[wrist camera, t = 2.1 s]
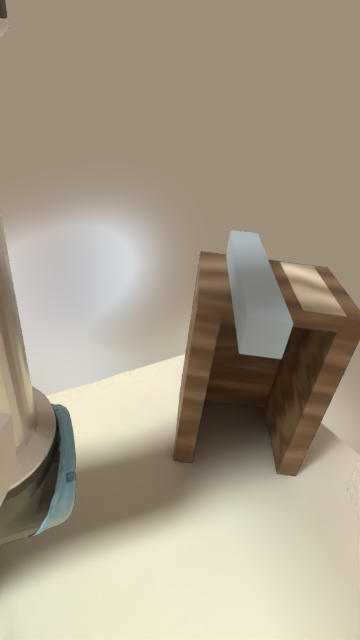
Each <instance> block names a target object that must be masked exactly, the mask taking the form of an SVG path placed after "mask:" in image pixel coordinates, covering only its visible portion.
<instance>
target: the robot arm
mask: <svg viewBox="0 0 360 640" xmlns="http://www.w3.org/2000/svg"><path fill="white" fill-rule="evenodd" d="M7 29H8V18H7V11H6V3H5V0H0V37H1V36H2V35H3V34H4V33H5V31H6V30H7ZM75 468H76V454H75V442H74V434H73V427H72V422H71V418H70V414H69V412H68V410H67V408H66V407H64V406H62V405H59V404H57V405H54V404H50V402H49V400H48V399H47V397H46V396H45V395H44V394H43V393H41V392H40V391H39V390H37V389H36V388H34V387H32V386H31V381H30V375H29V370H28V364H27V359H26V353H25V347H24V342H23V336H22V330H21V325H20V319H19V313H18V308H17V302H16V297H15V292H14V286H13V280H12V275H11V269H10V263H9V258H8V252H7V246H6V241H5V235H4V230H3V224H2V218H1V213H0V544H3V543H6V542H10V541H13V540H16V539H19V538H22V537H26V536H29V537H33V536H36V535H37V534H40V533H41V532H43V530H46V529H48V528H51V527H54V526H57V525H59V524H61V523H63V522H64V521H65V520H66V519H67V518H68V517H69V516H70V514H71V512H72V510H73V507H74V503H75V495H76V475H75ZM348 492H349V493H350V495H351V497H352V499H353V500H354V502H355V504H356V506H357V507H358V509H359V511H360V461H359V463H358V466H357V468H356V471H355V473H354V475H353V478H352V480H351V482H350V485H349V487H348Z"/></svg>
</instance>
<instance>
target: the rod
mask: <svg viewBox="0 0 360 640" xmlns="http://www.w3.org/2000/svg"><path fill="white" fill-rule="evenodd" d="M226 258H227V266H228V273H229V281H230V289H231V296H232V304H233V311H234V319H235V327H236V334H237V342H238V349H239V354H245V355H253V356H261V357H268V358H276V359H282V356H283V353H284V350H285V347H286V345H287V342H288V339H289V336H290V333H291V330H292V327H293V324H294V323H293V320H292V318H291V316H290V313H289V311H288V308H287V306H286V303H285V301H284V298H283V296H282V293H281V291H280V288H279V286H278V283H277V281H276V278H275V276H274V273H273V271H272V268H271V266H270V263H269V261H268V258H267V256H266V253H265V251H264V248H263V246H262V243H261V241H260V239H259V236H258V234H256V233H248V232H241V231H233V230H231V233H230V238H229V243H228V248H227V254H226Z"/></svg>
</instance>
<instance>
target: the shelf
mask: <svg viewBox="0 0 360 640" xmlns="http://www.w3.org/2000/svg"><path fill="white" fill-rule="evenodd" d="M268 261H269V263H270V266H271V268H272V271H273V273H274V276H275V278H276V281H277V283H278V286H279V288H280V291H281V293H282V296H283V298H284V301H285V303H286V306H287V308H288V311H289V313H290V316H291V318H292V320H293V323H294V324H293V327H292V330H291V333H290V336H289V339H288V342H287V345H286V347H285V350H284V353H283V356H282V359H276V358H268V357H261V356H253V355H245V354H239V349H238V342H237V334H236V327H235V319H234V311H233V304H232V296H231V289H230V281H229V273H228V266H227V258H226V254H219V253H211V252H202V251H201V252H200V259H199V265H198V272H197V279H196V286H195V292H194V299H193V306H192V313H191V320H190V326H189V333H188V340H187V347H186V354H185V361H184V367H183V374H182V381H181V388H180V396H179V407H178V418H177V428H176V439H175V450H174V461H179V462H187V463H192V459H193V454H194V450H195V445H196V440H197V435H198V430H199V425H200V420H201V415H202V410H203V405H204V400H206V401H214V402H222V403H230V404H238V405H246V406H254V407H262V408H265V414H266V419H267V424H268V429H269V434H270V440H271V445H272V450H273V455H274V461H275V466H276V471H277V474H282V475H290V476H296V474H297V472H298V469H299V467H300V465H301V463H302V461H303V459H304V457H305V455H306V453H307V450H308V448H309V446H310V444H311V442H312V440H313V438H314V436H315V433H316V431H317V429H318V427H319V425H320V423H321V421H322V419H323V417H324V414H325V412H326V410H327V408H328V406H329V404H330V402H331V400H332V397H333V395H334V393H335V391H336V389H337V387H338V385H339V383H340V381H341V378H342V376H343V374H344V372H345V370H346V368H347V366H348V363H349V362H350V359H351V357H352V355H353V353H354V351H355V349H356V347H357V345H358V342H359V340H360V310H359V308H358V307H357V306H356V304H355V303H354V302H353V301H352V299H351V298H350V297H349V295H348V294H347V292H346V291H345V290H344V288H343V287H342V286H341V284H340V283H339V282H338V280H337V279H336V278H335V276H334V275H333V274H332V273H331V271H330V270H329V269H328V267H321V266H313V265H305V264H297V263H290V262H282V261H274V260H268Z"/></svg>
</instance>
